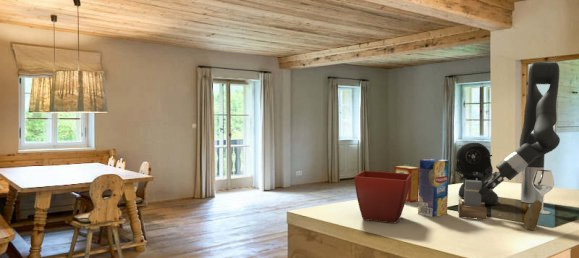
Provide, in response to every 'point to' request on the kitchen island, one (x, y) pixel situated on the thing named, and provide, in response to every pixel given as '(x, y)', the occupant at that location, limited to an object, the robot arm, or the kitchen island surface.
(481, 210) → the brown open box
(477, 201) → the grey lidded box
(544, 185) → the wineglass
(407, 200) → the baking soda box
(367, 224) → the kitchen island surface
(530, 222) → the rock
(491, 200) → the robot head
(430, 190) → the beverage box
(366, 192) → the plant pot
